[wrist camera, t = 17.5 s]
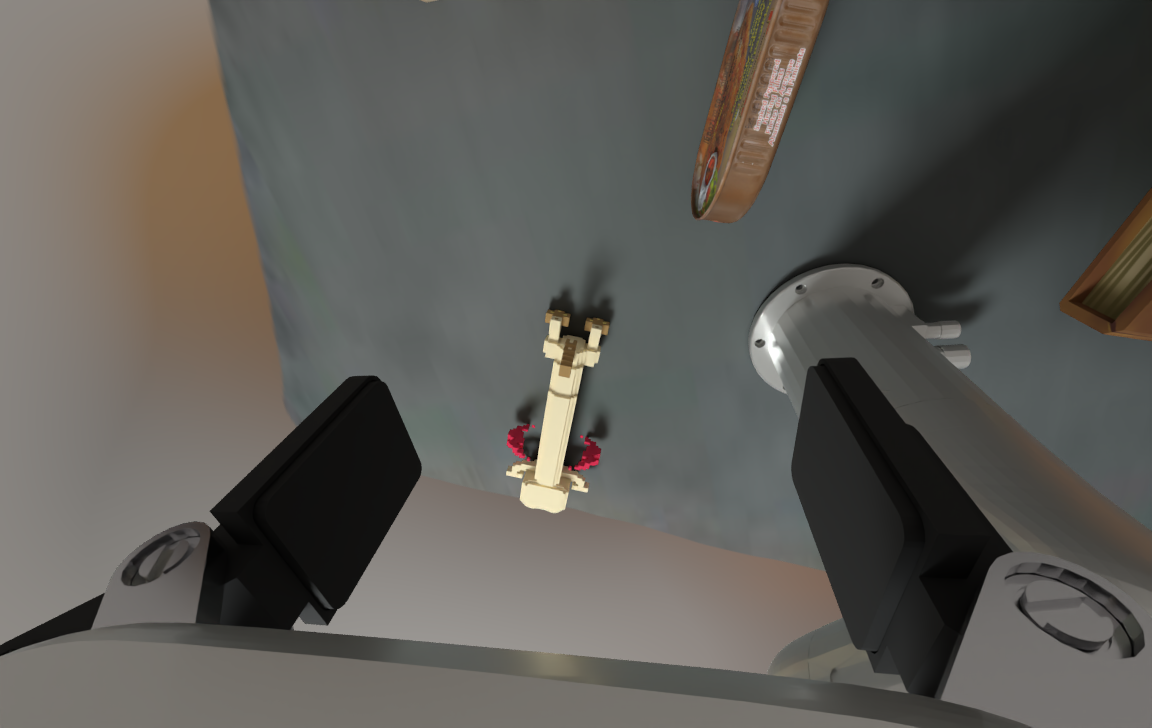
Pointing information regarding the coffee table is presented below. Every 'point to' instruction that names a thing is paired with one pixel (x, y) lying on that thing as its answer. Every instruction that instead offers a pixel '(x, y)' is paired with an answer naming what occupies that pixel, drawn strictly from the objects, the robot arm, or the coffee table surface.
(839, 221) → the coffee table surface
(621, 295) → the coffee table surface
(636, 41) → the coffee table surface
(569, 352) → the cream elongated piece
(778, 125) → the tin
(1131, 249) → the diary
